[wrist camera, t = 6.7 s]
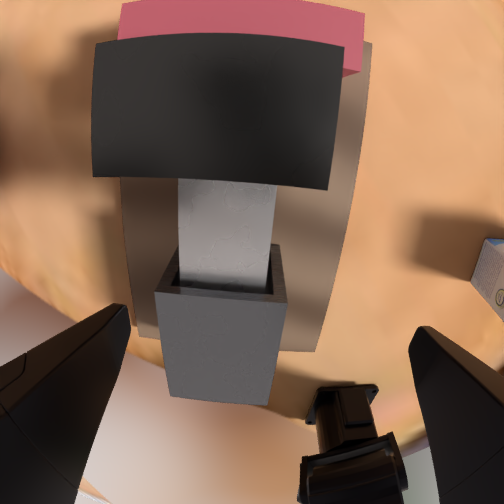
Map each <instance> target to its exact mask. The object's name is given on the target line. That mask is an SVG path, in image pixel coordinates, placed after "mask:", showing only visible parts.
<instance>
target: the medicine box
mask: <svg viewBox="0 0 504 504" xmlns="http://www.w3.org/2000/svg"><path fill="white" fill-rule="evenodd" d="M471 284H472V285H473V286H474V287H475V289H476V290H477V291H478V292H479V293H480V294H481V296H482V297H483V298H484V299H485V300H486V301H487V302H488V304H489V305H490V306H491V307H492V308H493V309H494V311H495V312H496V313H497V314H498V316H499V317H500V318H501V319H502V321H503V322H504V239H491V238H486V239H485V240H484V243H483V246H482V249H481V252H480V255H479V258H478V261H477V264H476V267H475V270H474V272H473V275H472V279H471Z"/></svg>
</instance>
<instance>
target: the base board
mask: <svg viewBox="0 0 504 504" xmlns="http://www.w3.org/2000/svg"><path fill="white" fill-rule="evenodd" d="M371 55H372V43H369V42H365V41H363V54H362V67H361V72H359V73H356V74H352V75H349V76H346V77H343V78H342V85H341V94H340V104H339V112H338V121H337V129H336V137H335V144H334V152H333V159H332V166H331V172H330V179H329V185H328V191H325V190H317V189H308V188H299V187H290V186H280V185H277V192H276V201H275V210H274V219H273V227H272V236H271V244H275V245H280V251H281V258H282V265H283V272H284V279H285V286H286V293H287V301H288V306H287V311H286V316H285V322H284V327H283V332H282V337H281V342H280V347H279V351H296V352H315V349H316V346H317V343H318V339H319V336H320V332H321V329H322V325H323V322H324V318H325V315H326V311H327V307H328V304H329V300H330V296H331V292H332V288H333V284H334V281H335V276H336V272H337V268H338V264H339V260H340V256H341V251H342V247H343V242H344V238H345V233H346V228H347V224H348V219H349V214H350V209H351V204H352V198H353V193H354V188H355V182H356V176H357V170H358V164H359V158H360V152H361V145H362V138H363V131H364V124H365V116H366V108H367V99H368V89H369V79H370V68H371ZM120 186H121V203H122V217H123V228H124V239H125V248H126V257H127V265H128V272H129V279H130V286H131V293H132V299H133V305H134V311H135V317H136V322H137V327H138V332H139V337H145V338H152V339H159V340H160V333H159V326H158V318H157V310H156V302H155V293H154V291H155V289H156V287H157V285H158V283H159V281H160V279H161V277H162V275H163V273H164V271H165V270H166V268H167V266H168V264H169V262H170V260H171V258H172V256H173V254H174V252H175V250H176V248H177V247H178V245H179V230H178V178H149V177H120Z"/></svg>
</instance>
